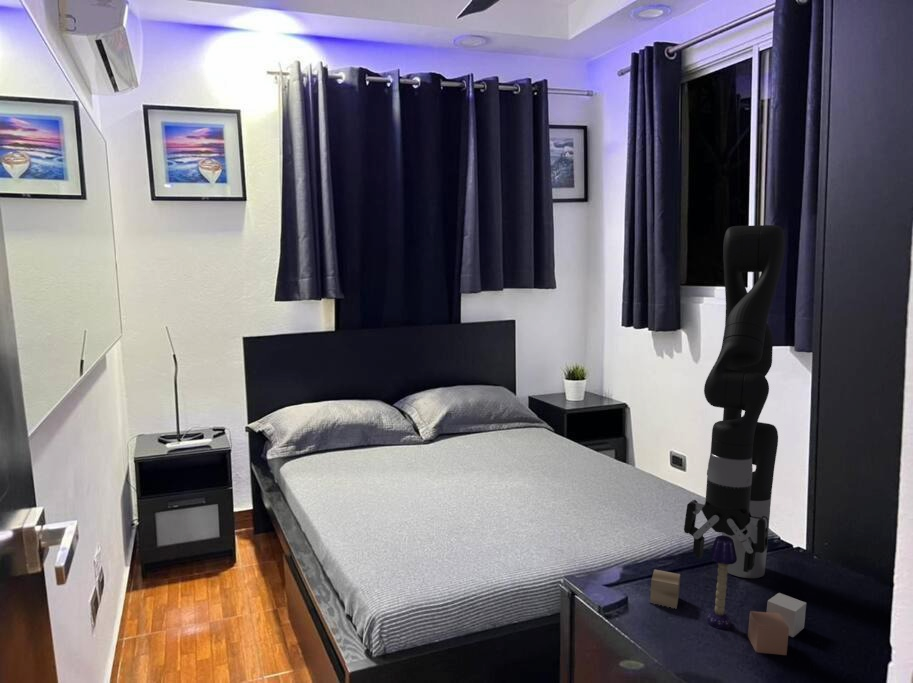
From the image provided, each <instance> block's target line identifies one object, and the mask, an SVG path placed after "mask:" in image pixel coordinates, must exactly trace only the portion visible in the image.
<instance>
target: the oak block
mask: <svg viewBox="0 0 913 683" xmlns="http://www.w3.org/2000/svg"><path fill="white" fill-rule="evenodd" d="M680 581H681V573H676V572H671V571H666V570H665V571H664V570H659V569H653V573H652V576H651V581H650V582H651V583H650V597H649V598H650V599H649V603H650V602H651V603H654V604H653V605H655V604H659V605H658V606H660V605H662V606H661V607H664V606H667V607H666V608H669V607H671V608H670V609H674V608H675V610H677V607H678V604H679V594H680Z"/></svg>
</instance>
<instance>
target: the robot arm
mask: <svg viewBox="0 0 913 683" xmlns="http://www.w3.org/2000/svg"><path fill="white" fill-rule="evenodd" d="M723 237H724V238H723V244H722V246H723V248H722V250H723V251H722V253H723V254H722V255H723V276H724V290H725V291H724V293H725V317H724V318H725V320H724V331H723V337H722V345H721V349H720V351H719V354H718V356H717V359H716V361H715V363H714V364H713V366H712V368H711V370H710V372H709V373H708V375H707V377H706V380H705V381H704V382H705V383H704V386H703V394H704V397H705V400H706V401H707V403H709V405H710V406H712V407H715V408H721V409H723V414H722V416H723V417H722V420H719V421H716V422H714V424H713V425H712V429H711V443H710V444H711V445H710V455H709V459H708V462H707V471H706V489H705V502H704V504H703V503H699V502H698V501H697V499H692V500H690V502H689V503H687V506H686V513H685V518H684V526H683V531H684V533H685V534H689V535H690V536H692V537H693V550H692V552H693V555H695V558H696V559H699V560H701V559H702V557H703V556H704V550H705V549H704V548H705V537H704V535H705V534H706V533H707V532H708V531H710V529H712V530H714V532H715V533H720V534H721V535H722V536H728V537H730V538H732V539H733V542H734V546H735V551H736V556H737V561H736V562H735V563H734V564H728V567H727V569H728V574H729V575H733V576H736V577H739V578H744V579H759V578H761V577H763V576H765V572H766V562H767V561H766V560H767V552H768V546H769V543H768V541H769V539H768V538H769V530H770V529H769V527H770V518H771V517H770V516H771V515H770V514H771V502H772V493H773V483H774V482H773V481H774V473H775V465H776V461H777V460H776V458H777V453H778V447H779V446H778V445H779V432H778V428H777V427H776V426H775V425H774V424H771V423H766V422H760V421H759V418H760V416H761V413H762V411H763V409H764V406H765V405H766V401H767V399H768V397H769V393H770V384H769V381H768V379H767V377H766V376H767V375H768V373H769V372H770V369H771V368H772V365H773V341H774V340H773V337H774V336H773V333H772V329H771V328H770V326H769V324H768V323H767V322H768V318H769V314H770V311H771V306H772V304H773V300H774V297H775V295H776V294H775V293H776V291H777V287H778V283H779V280H780V275H781V272H782V267H783V265H784V259H785V251H786V238H785V237H786V236H785V232H784V230H783V228H782V227H781V226H780V225H775V224H763V225H762V224H760V225H759V224H758V225H735V226H734V225H733V226H730V227H728V228H727V229H726V231H725V234H724V236H723ZM743 273H760V276H759V277H758V279H757V281H756V282H755V283H754V285H753V286H752V288H751V289H749V291H747V288H746V286H745V281H744V277H743ZM743 411H744V413H743V415H742V412H743ZM753 466H755V470H754V471H753ZM701 511H702V514H703V516H704V517H705V519H706V522H705V523H704V524H702V525H701V526H700V527H699V528H698V527H696V521H697V520H696V519H697V515H698V514H700V512H701Z"/></svg>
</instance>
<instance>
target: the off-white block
mask: <svg viewBox="0 0 913 683" xmlns="http://www.w3.org/2000/svg"><path fill="white" fill-rule="evenodd" d="M766 602H767V604H766V612H768V613H779V614H780V615H781V617H782V619H783V620H784V622H785V623H786V625H787V626H788V628H789V633H788V637H791V638H794V637H796V636H797V635H798V634H799V633H800V632H801V631H802V630H803V629H804V628H805V623H806V622H805V620H806V610H807V602H806V601H802V600H799V599H797V598H794V597H792V596H789V595H786V594H784V593H781V592H778V593H776V594H775V595H774V596H772V597H771V598H769V599H768V600H767V601H766Z"/></svg>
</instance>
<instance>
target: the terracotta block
mask: <svg viewBox="0 0 913 683" xmlns="http://www.w3.org/2000/svg"><path fill="white" fill-rule="evenodd" d="M788 633H789V628H788V626H787V625H786V623H785V622H784V620H783V619H782V617H781V615H780V614H779V613H768V612H767V611H766V612H765V611H756V610H755V611H753V610H750V611H749V618H748V631H747V638H748V640H749V642H750V643H751V645H752V648H753V649H754V651H755V653H759V654H771V655H781V656H787V655H788V654H787V653H788V644H789V642H788V641H789V636H788Z"/></svg>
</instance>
